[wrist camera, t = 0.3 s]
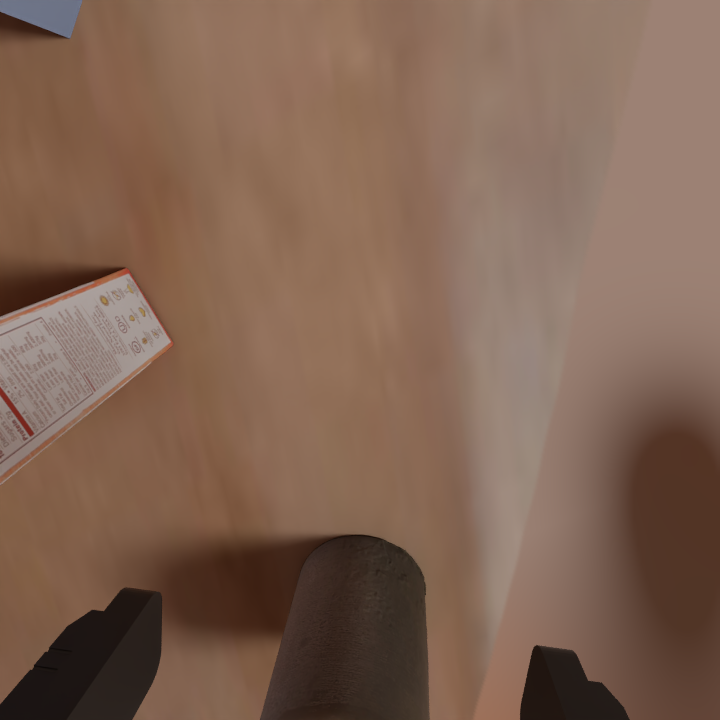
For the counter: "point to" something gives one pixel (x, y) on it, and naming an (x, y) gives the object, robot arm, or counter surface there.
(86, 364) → the cracker box
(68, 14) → the blue cube
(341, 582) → the pillar candle
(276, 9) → the counter surface
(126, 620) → the robot arm
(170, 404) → the counter surface
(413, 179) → the counter surface
